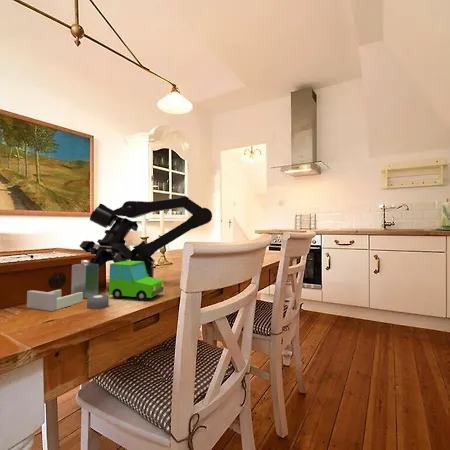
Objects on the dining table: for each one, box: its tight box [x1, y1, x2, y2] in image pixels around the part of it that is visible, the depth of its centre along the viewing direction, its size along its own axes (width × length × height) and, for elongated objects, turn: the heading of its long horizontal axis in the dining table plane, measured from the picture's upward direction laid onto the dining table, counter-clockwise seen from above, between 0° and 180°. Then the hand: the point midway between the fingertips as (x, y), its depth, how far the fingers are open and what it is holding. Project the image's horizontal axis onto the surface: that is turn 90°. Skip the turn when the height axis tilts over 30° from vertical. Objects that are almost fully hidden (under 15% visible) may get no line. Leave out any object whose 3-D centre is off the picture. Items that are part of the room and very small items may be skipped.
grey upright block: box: [70, 259, 100, 299], centre depth 80 cm, size 5×5×10 cm
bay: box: [26, 289, 84, 312], centre depth 71 cm, size 9×8×4 cm
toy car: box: [108, 260, 165, 302], centre depth 81 cm, size 10×13×10 cm
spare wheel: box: [86, 293, 110, 310], centre depth 70 cm, size 5×5×3 cm
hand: (90, 271), depth 84 cm, fingers closed
